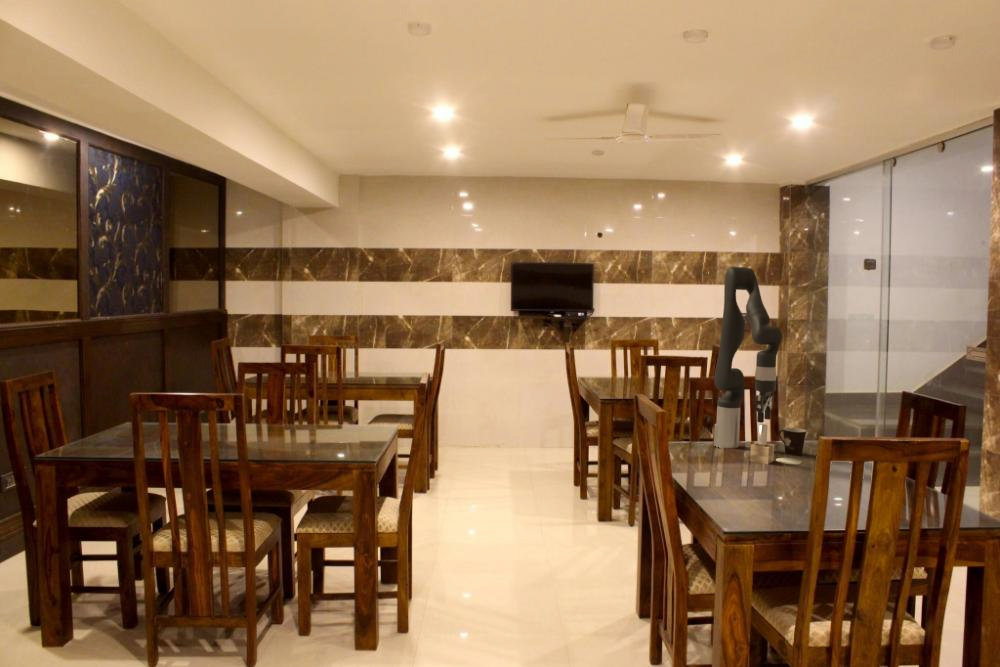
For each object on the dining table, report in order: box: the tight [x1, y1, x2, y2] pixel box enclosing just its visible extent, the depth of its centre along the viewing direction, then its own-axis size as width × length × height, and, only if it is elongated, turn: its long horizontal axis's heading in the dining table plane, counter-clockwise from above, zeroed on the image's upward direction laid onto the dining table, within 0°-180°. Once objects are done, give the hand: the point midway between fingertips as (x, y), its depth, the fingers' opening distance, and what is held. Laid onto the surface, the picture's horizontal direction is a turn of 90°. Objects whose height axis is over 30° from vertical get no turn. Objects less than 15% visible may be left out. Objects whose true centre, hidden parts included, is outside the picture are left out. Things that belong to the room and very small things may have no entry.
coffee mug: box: [778, 427, 807, 457], centre depth 292 cm, size 12×9×10 cm
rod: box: [757, 423, 769, 447], centre depth 274 cm, size 3×3×14 cm
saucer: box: [775, 457, 802, 465], centre depth 275 cm, size 9×9×1 cm
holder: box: [749, 442, 775, 465], centre depth 275 cm, size 7×7×7 cm
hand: (764, 420), depth 274 cm, fingers open, 8 cm apart
